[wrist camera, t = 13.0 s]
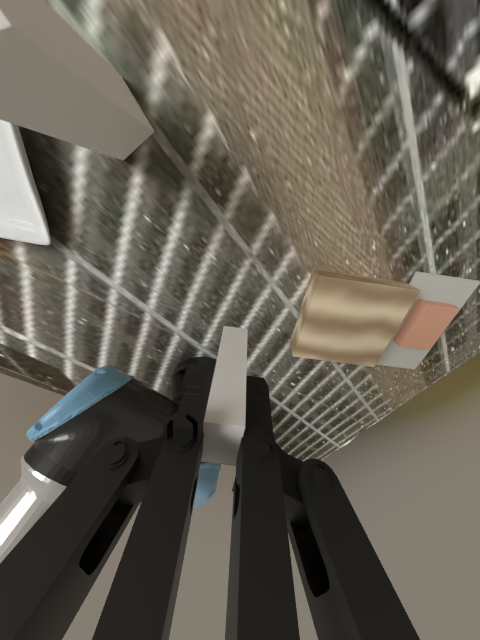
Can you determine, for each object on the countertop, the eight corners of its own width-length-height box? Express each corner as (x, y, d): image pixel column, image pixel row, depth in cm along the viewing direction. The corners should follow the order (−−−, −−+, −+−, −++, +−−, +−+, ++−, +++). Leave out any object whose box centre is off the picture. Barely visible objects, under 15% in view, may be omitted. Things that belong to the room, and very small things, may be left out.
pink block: (399, 346, 39) (392, 340, 41) (429, 350, 40) (422, 344, 41) (426, 303, 35) (418, 299, 37) (460, 308, 35) (450, 303, 37)
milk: (123, 161, 29) (-121, 85, 10) (88, 110, 26) (-329, -121, 7) (156, 131, 27) (-67, -31, 8) (121, 74, 25) (-315, -354, 6)
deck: (364, 353, 44) (373, 367, 40) (289, 343, 43) (293, 356, 40) (404, 281, 36) (420, 290, 32) (313, 268, 35) (320, 275, 32)
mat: (413, 368, 45) (415, 369, 45) (364, 361, 45) (365, 363, 44) (478, 280, 35) (481, 281, 35) (416, 271, 35) (417, 272, 34)
